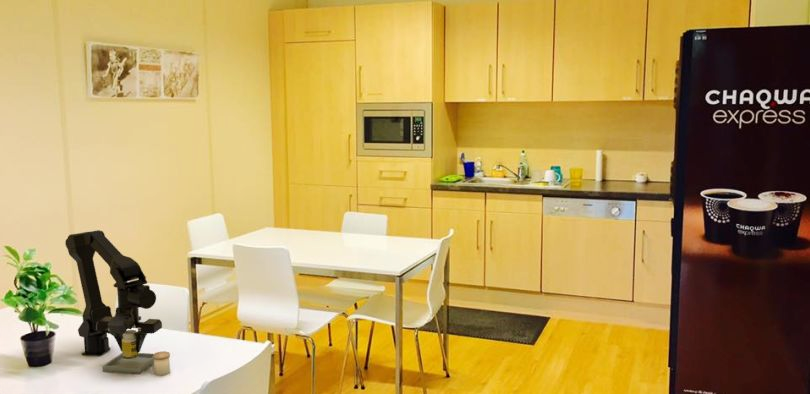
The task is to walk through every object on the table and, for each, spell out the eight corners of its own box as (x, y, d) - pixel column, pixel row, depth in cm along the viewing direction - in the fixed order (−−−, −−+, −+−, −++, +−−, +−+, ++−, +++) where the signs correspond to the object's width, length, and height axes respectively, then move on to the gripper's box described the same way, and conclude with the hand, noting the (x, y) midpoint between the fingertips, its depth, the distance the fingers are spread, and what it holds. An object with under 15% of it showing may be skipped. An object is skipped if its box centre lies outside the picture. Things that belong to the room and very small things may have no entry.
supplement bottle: (133, 361, 215) (131, 335, 214) (119, 360, 216) (117, 333, 215) (142, 355, 220) (140, 329, 218) (128, 354, 221) (127, 328, 219)
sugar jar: (150, 375, 211) (149, 356, 210) (158, 369, 215) (157, 351, 214) (166, 376, 210) (165, 357, 209) (173, 370, 215) (172, 351, 214)
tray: (102, 371, 213) (102, 366, 213) (123, 357, 225) (123, 351, 224) (140, 374, 211) (139, 368, 211) (159, 359, 223) (158, 353, 223)
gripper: (84, 309, 209) (87, 359, 211) (143, 312, 206) (146, 363, 208) (105, 298, 219) (107, 346, 222) (161, 301, 217) (163, 349, 219)
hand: (130, 351), depth 217 cm, fingers closed on supplement bottle, 5 cm apart
